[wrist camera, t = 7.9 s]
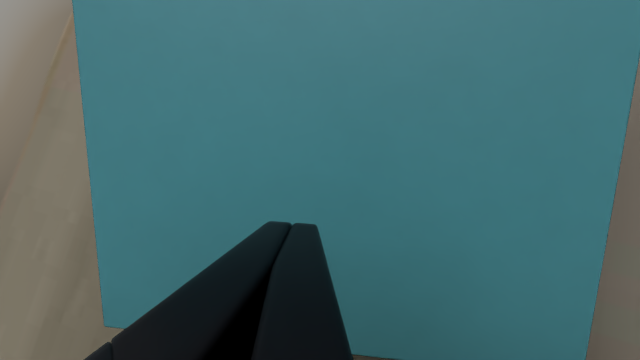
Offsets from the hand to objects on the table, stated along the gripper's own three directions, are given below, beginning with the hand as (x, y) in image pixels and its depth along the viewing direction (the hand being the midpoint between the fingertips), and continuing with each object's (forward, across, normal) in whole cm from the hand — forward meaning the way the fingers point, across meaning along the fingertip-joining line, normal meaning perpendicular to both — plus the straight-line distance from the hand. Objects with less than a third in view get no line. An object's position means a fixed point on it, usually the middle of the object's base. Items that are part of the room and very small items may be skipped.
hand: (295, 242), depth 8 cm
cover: (+5, 0, -1) cm, 5 cm away
